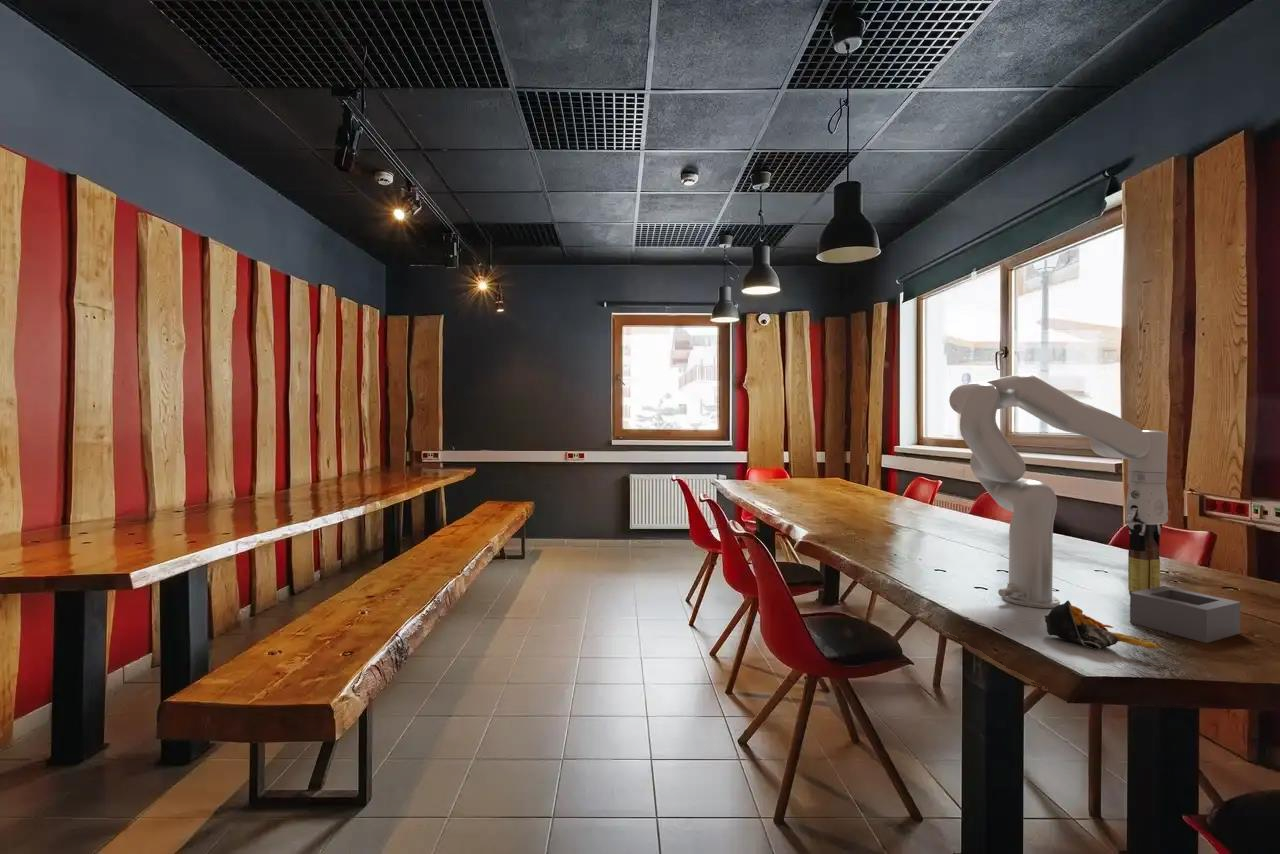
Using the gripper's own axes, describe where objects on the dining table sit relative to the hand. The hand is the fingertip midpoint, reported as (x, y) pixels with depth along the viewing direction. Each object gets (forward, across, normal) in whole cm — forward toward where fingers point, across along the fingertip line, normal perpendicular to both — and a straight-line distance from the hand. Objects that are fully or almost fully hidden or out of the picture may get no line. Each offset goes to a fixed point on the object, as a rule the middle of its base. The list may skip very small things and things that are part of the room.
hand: (1144, 548), depth 152 cm
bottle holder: (+14, -11, -14) cm, 23 cm away
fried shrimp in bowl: (+15, -42, -12) cm, 47 cm away
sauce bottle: (+13, 0, 0) cm, 13 cm away
